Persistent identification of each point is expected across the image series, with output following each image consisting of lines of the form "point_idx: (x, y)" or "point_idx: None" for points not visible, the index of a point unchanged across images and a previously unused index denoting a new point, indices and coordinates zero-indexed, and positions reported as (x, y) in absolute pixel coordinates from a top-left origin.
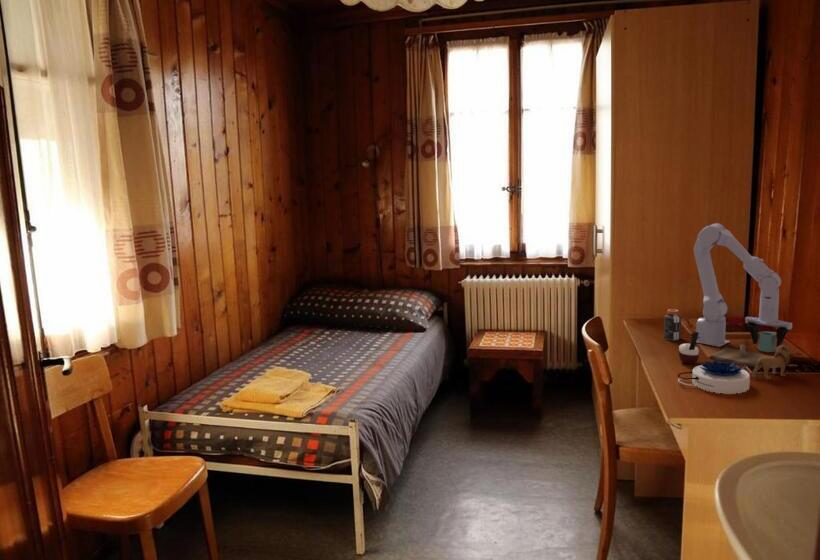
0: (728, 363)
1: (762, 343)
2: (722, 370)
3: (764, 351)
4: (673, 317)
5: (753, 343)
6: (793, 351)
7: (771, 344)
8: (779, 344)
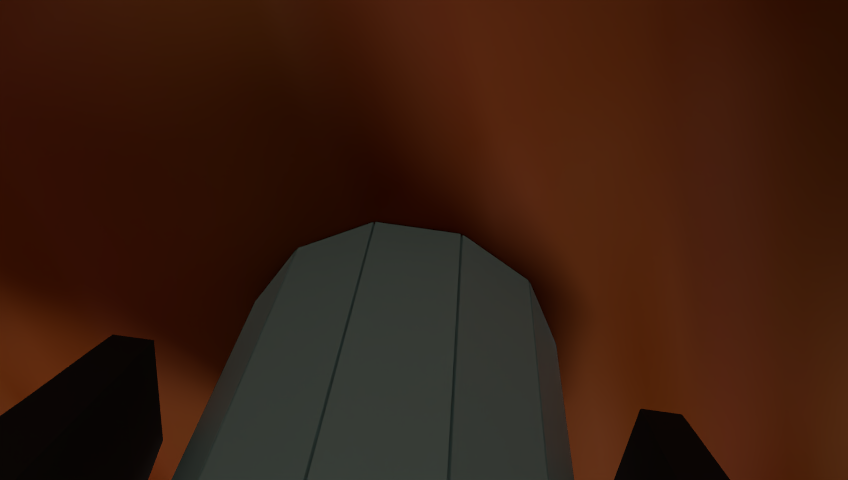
0: None
1: (445, 355)
2: None
3: (402, 229)
4: None
5: (683, 420)
6: None
7: (232, 378)
8: (36, 399)
